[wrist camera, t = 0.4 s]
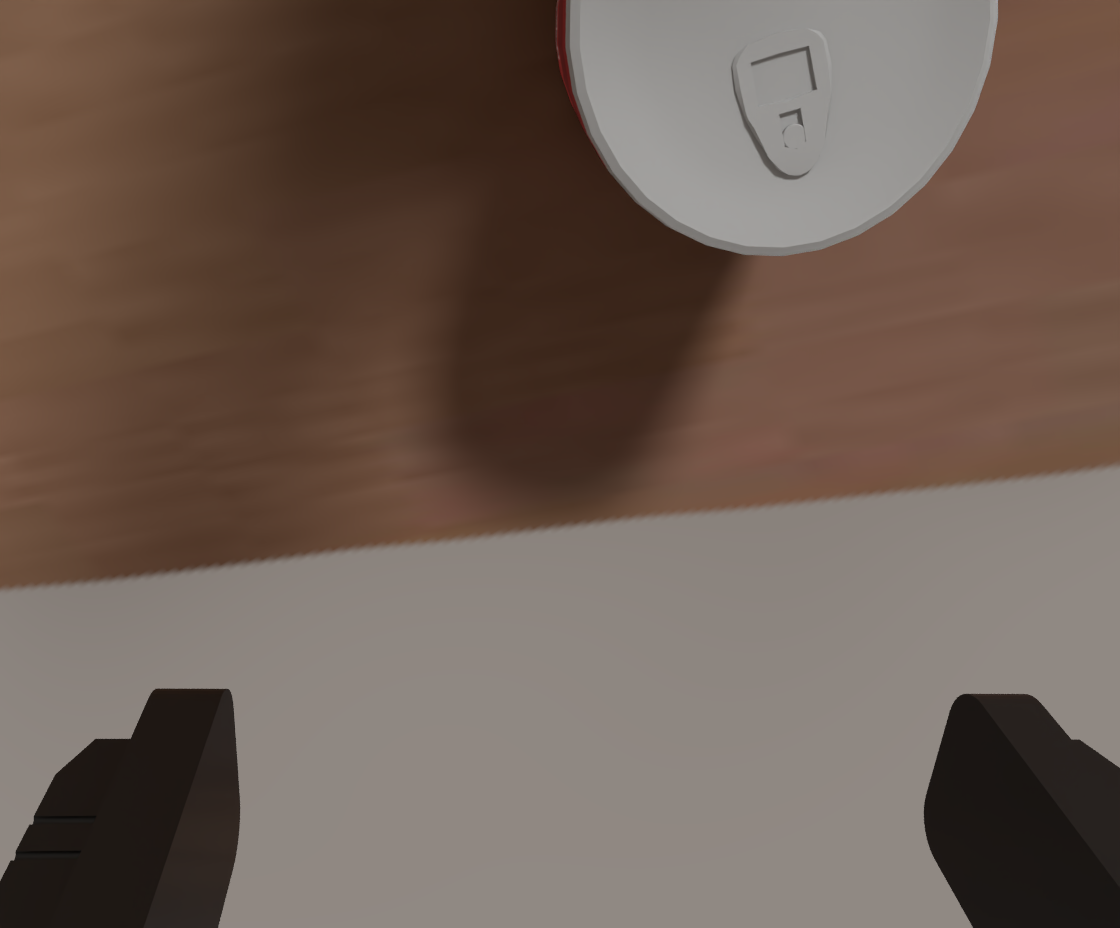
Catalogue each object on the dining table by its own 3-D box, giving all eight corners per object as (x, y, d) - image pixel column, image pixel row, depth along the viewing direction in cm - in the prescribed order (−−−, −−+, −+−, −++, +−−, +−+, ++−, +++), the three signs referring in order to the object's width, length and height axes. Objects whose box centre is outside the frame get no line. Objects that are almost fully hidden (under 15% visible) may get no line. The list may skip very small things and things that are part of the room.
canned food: (641, 231, 30) (697, 333, 20) (496, -28, 27) (475, -63, 17) (879, 89, 29) (1071, 120, 18) (752, -199, 26) (895, -349, 16)
